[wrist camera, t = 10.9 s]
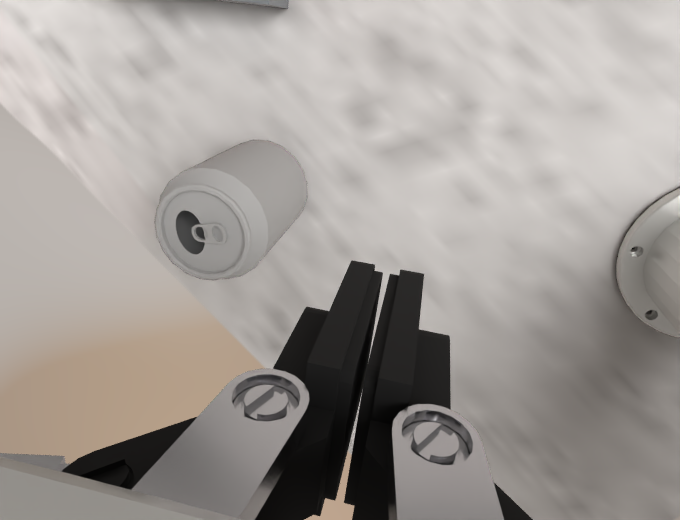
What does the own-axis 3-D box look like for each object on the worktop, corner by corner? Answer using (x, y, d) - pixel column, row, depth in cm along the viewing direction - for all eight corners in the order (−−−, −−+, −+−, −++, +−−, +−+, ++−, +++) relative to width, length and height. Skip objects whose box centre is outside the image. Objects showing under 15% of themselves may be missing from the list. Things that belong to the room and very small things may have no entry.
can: (215, 142, 39) (127, 179, 28) (302, 133, 37) (244, 169, 26) (234, 228, 42) (161, 292, 31) (317, 223, 40) (269, 289, 29)
